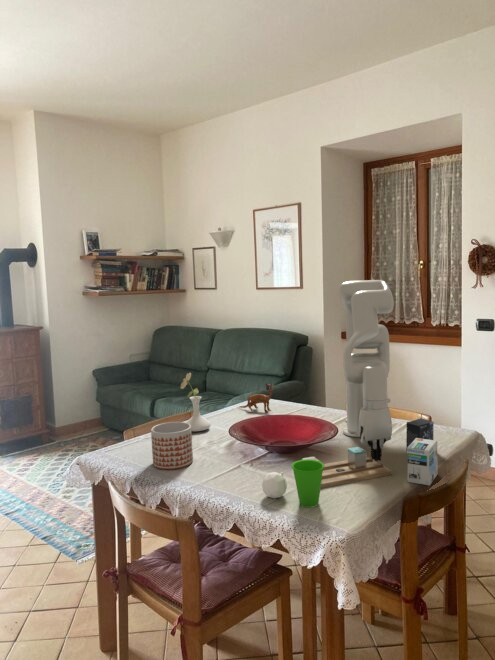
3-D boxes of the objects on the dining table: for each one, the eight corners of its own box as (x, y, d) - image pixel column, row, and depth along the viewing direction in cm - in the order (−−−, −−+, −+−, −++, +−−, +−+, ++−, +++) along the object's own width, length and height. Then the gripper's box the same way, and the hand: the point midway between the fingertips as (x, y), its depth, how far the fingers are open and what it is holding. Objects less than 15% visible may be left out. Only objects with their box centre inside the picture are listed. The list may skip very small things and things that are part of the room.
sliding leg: (347, 465, 168) (347, 448, 168) (358, 463, 169) (358, 446, 169) (355, 470, 164) (354, 452, 163) (366, 468, 165) (366, 451, 164)
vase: (177, 453, 191) (175, 419, 190) (201, 461, 181) (199, 426, 180) (145, 464, 181) (143, 428, 180) (168, 473, 172) (166, 435, 170)
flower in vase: (196, 424, 227) (193, 367, 224) (216, 428, 220) (213, 369, 218) (175, 432, 216) (171, 373, 214) (195, 436, 210) (192, 375, 207)
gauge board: (296, 472, 168) (295, 453, 167) (367, 460, 176) (367, 442, 175) (315, 488, 154) (315, 468, 154) (391, 474, 163) (391, 455, 162)
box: (419, 455, 178) (419, 425, 177) (406, 451, 183) (405, 421, 182) (434, 450, 182) (434, 421, 181) (420, 446, 187) (420, 417, 186)
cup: (290, 497, 149) (288, 460, 148) (321, 495, 150) (320, 458, 149) (295, 511, 140) (294, 472, 139) (328, 509, 141) (327, 469, 140)
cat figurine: (236, 411, 246) (234, 382, 245) (242, 407, 252) (241, 379, 251) (271, 413, 239) (270, 384, 237) (276, 410, 245) (275, 381, 243)
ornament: (264, 490, 155) (279, 467, 155) (281, 505, 150) (297, 482, 151) (252, 486, 150) (268, 462, 150) (270, 502, 145) (286, 477, 145)
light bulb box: (430, 486, 153) (429, 450, 152) (406, 482, 156) (406, 447, 155) (438, 473, 162) (438, 440, 161) (416, 470, 165) (415, 437, 164)
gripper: (388, 398, 173) (389, 452, 175) (348, 404, 168) (349, 459, 170) (402, 403, 166) (403, 459, 167) (360, 409, 161) (362, 467, 163)
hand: (376, 459), depth 169 cm, fingers closed
